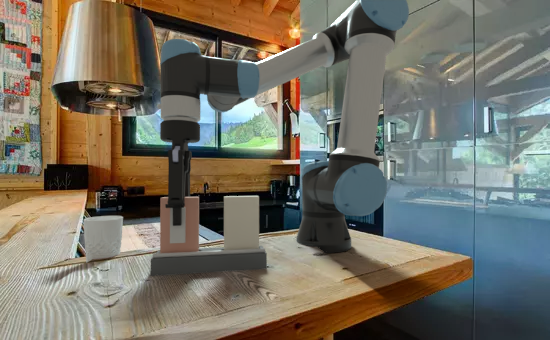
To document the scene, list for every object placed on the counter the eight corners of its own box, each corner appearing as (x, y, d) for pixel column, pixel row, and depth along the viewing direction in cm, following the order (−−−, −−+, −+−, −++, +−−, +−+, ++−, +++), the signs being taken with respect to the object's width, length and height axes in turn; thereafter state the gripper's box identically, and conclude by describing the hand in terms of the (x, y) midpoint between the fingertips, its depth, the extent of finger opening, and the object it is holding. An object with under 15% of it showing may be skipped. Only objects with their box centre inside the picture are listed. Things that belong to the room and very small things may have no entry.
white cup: (105, 267, 63) (105, 221, 63) (74, 265, 65) (74, 220, 65) (130, 257, 71) (130, 216, 71) (102, 255, 72) (102, 215, 73)
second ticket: (257, 262, 61) (257, 195, 62) (259, 265, 59) (258, 196, 59) (223, 264, 60) (223, 196, 60) (223, 267, 58) (224, 197, 58)
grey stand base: (262, 266, 63) (262, 241, 64) (266, 276, 57) (266, 249, 57) (158, 272, 60) (158, 246, 60) (150, 283, 53) (150, 254, 53)
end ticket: (198, 265, 59) (199, 196, 59) (197, 269, 57) (198, 197, 57) (162, 267, 58) (162, 197, 58) (160, 271, 56) (160, 198, 56)
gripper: (169, 128, 66) (168, 230, 66) (148, 110, 48) (148, 252, 48) (203, 129, 68) (202, 229, 67) (195, 112, 49) (195, 250, 49)
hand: (180, 238), depth 57 cm, fingers open, 6 cm apart
